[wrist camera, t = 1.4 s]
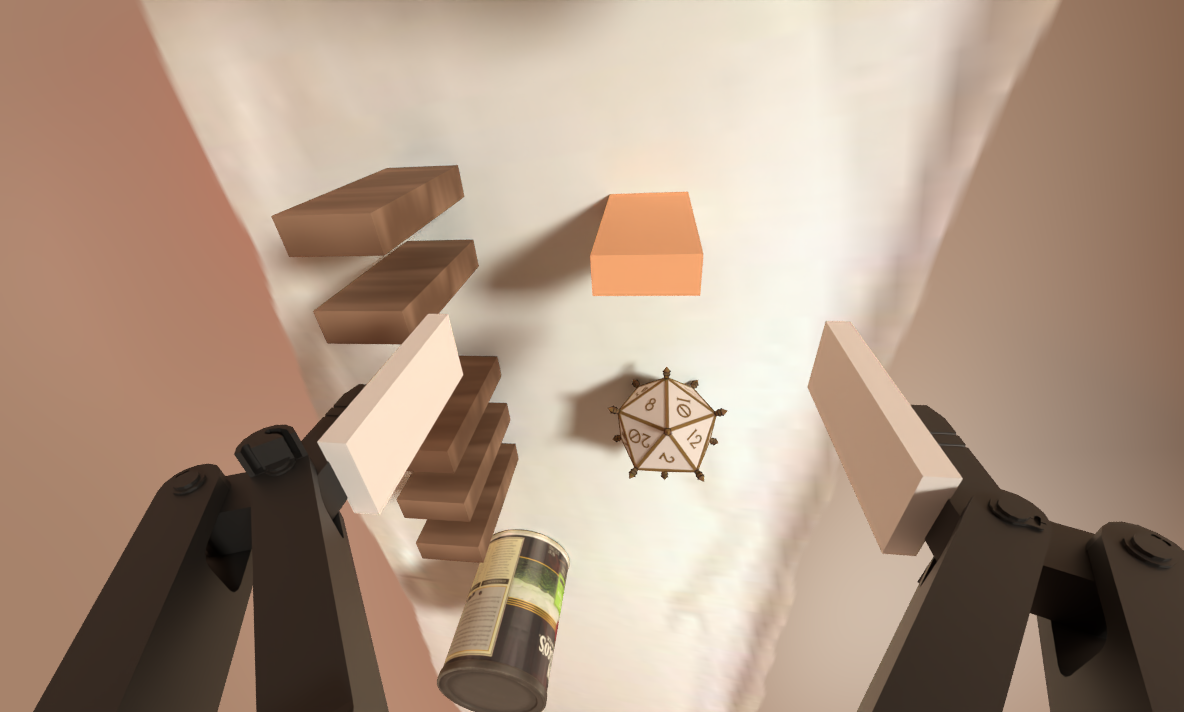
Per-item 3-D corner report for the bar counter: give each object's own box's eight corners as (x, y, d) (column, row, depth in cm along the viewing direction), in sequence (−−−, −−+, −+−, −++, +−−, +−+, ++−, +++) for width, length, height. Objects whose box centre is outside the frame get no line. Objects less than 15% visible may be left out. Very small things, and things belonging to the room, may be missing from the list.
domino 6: (610, 194, 30) (590, 255, 20) (687, 191, 29) (703, 254, 20) (611, 224, 31) (592, 295, 22) (686, 223, 30) (700, 295, 21)
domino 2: (407, 241, 33) (313, 311, 24) (473, 239, 32) (401, 311, 23) (415, 266, 34) (327, 343, 25) (478, 266, 33) (412, 344, 24)
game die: (650, 383, 42) (586, 468, 38) (650, 324, 35) (572, 420, 31) (740, 431, 38) (680, 531, 34) (760, 376, 32) (688, 493, 27)
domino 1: (386, 168, 30) (271, 216, 21) (457, 165, 30) (370, 213, 21) (395, 198, 31) (289, 256, 22) (464, 196, 31) (384, 255, 22)
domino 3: (440, 355, 38) (373, 448, 29) (497, 356, 38) (447, 451, 29) (446, 374, 40) (383, 469, 30) (501, 375, 39) (454, 473, 30)
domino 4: (453, 401, 41) (396, 499, 32) (506, 403, 41) (464, 503, 31) (458, 418, 42) (404, 517, 33) (510, 420, 42) (469, 521, 33)
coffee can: (571, 535, 50) (546, 680, 39) (568, 586, 56) (545, 726, 44) (480, 522, 51) (429, 661, 39) (486, 574, 57) (443, 708, 45)
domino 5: (465, 442, 44) (415, 542, 35) (515, 443, 43) (478, 547, 34) (469, 456, 45) (422, 558, 36) (518, 458, 44) (483, 562, 35)
